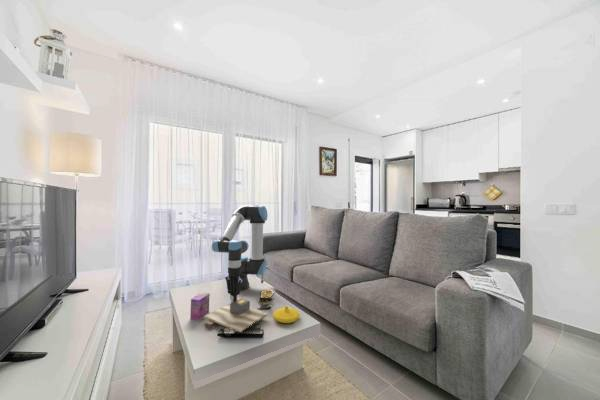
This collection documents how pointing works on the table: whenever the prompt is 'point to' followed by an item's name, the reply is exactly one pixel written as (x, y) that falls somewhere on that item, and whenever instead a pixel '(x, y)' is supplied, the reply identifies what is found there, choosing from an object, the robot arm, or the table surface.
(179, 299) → the table surface
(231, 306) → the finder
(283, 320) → the yellow pattypan squash
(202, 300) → the box
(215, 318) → the beige cloth
